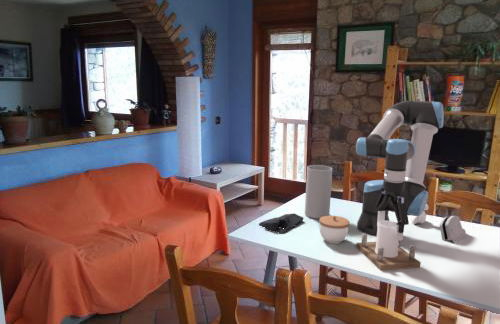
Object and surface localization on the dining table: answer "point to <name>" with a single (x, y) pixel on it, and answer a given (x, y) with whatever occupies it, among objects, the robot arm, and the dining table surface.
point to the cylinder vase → (318, 191)
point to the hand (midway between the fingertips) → (389, 233)
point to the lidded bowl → (333, 228)
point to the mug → (387, 239)
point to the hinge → (451, 228)
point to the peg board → (385, 263)
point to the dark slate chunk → (282, 222)
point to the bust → (419, 217)
